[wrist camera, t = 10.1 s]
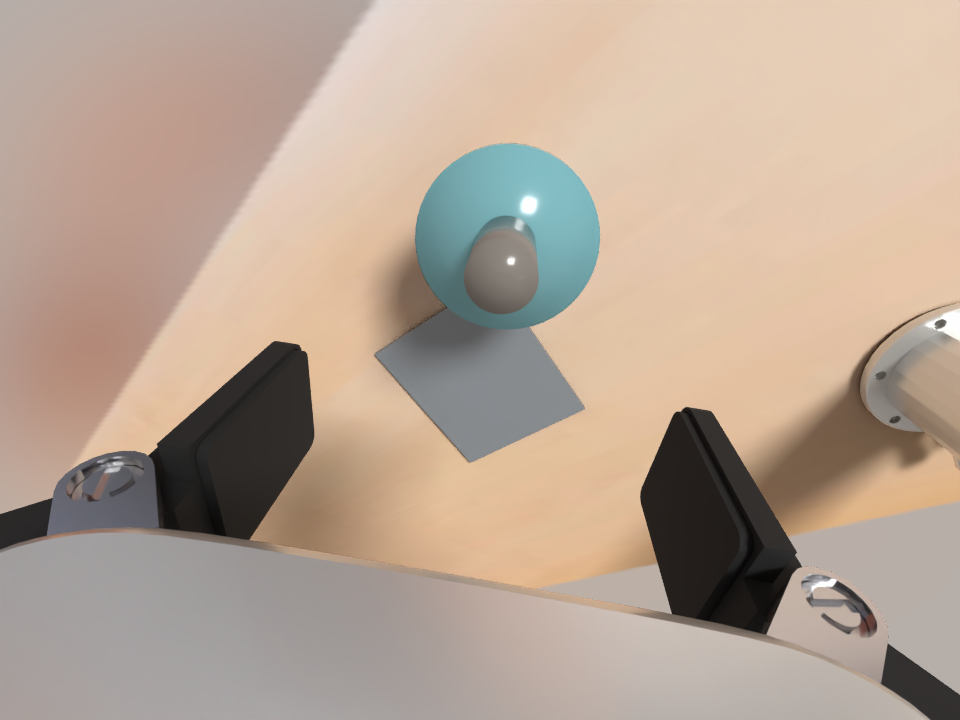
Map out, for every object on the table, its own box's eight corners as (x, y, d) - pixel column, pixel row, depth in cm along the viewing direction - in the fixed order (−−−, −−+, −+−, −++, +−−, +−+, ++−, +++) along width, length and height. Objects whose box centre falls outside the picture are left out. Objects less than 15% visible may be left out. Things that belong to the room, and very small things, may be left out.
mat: (584, 406, 43) (584, 409, 43) (470, 460, 48) (470, 462, 48) (494, 277, 38) (494, 278, 37) (375, 352, 42) (374, 354, 42)
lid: (628, 265, 27) (659, 311, 21) (484, 348, 31) (474, 408, 25) (536, 98, 23) (539, 92, 17) (383, 217, 27) (341, 248, 21)
